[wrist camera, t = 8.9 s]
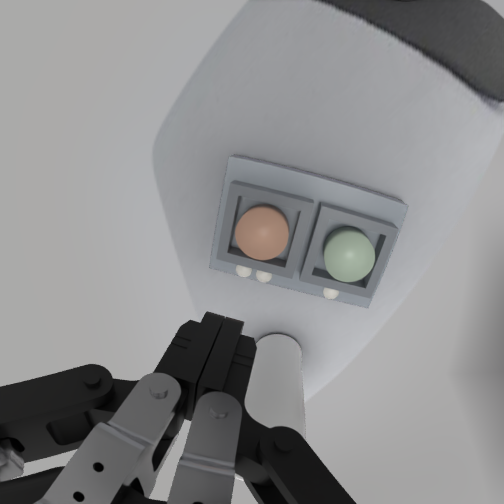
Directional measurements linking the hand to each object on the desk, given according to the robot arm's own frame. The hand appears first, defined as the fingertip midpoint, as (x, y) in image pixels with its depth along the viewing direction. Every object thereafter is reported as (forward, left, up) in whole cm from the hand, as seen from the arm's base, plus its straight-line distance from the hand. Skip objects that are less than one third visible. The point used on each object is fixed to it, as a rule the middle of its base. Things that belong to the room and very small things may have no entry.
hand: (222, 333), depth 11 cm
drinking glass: (+14, +4, -16) cm, 22 cm away
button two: (0, 0, -14) cm, 14 cm away
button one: (0, +7, -14) cm, 15 cm away
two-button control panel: (0, +3, -16) cm, 16 cm away
